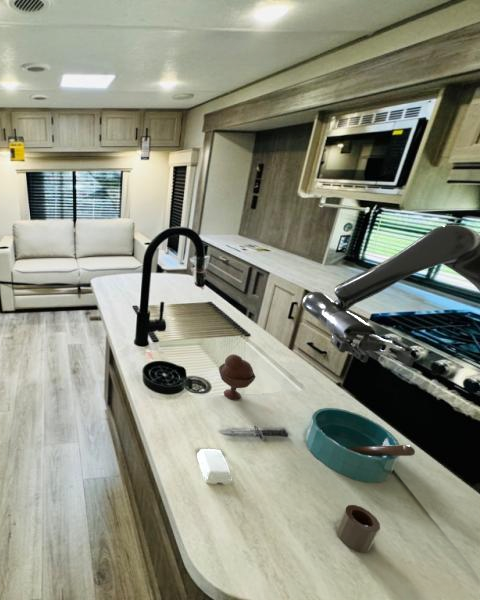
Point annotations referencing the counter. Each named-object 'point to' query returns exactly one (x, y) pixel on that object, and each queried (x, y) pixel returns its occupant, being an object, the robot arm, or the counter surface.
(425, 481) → the counter surface
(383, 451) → the brown rounded rod
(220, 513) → the counter surface
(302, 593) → the counter surface
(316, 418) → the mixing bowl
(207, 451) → the soap
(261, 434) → the knife
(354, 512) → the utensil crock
